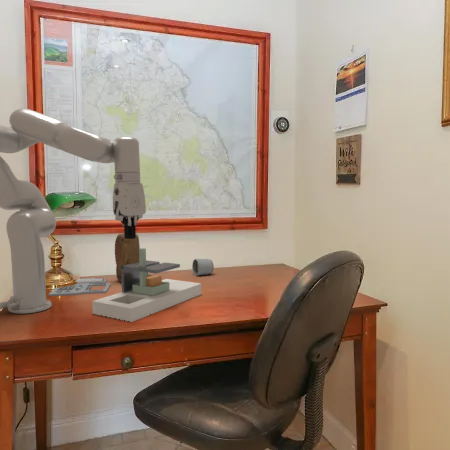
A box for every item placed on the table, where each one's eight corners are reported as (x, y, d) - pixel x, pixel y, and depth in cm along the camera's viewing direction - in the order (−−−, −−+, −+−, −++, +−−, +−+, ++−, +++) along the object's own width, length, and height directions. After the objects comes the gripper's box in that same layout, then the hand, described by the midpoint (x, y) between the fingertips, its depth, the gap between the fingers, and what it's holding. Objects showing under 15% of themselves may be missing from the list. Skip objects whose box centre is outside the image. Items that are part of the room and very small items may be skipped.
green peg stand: (152, 295, 131) (151, 249, 130) (131, 292, 135) (130, 247, 134) (169, 289, 139) (168, 246, 137) (149, 286, 143) (149, 244, 142)
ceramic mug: (214, 275, 182) (214, 258, 181) (198, 277, 178) (198, 260, 178) (204, 271, 191) (204, 255, 190) (189, 273, 187) (189, 257, 187)
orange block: (152, 294, 134) (151, 279, 133) (140, 292, 136) (140, 277, 136) (161, 290, 138) (161, 276, 138) (150, 289, 141) (150, 274, 140)
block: (142, 282, 168) (141, 234, 167) (125, 285, 163) (124, 235, 162) (129, 278, 177) (128, 231, 175) (113, 280, 172) (111, 233, 170)
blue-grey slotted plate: (62, 277, 170) (112, 275, 173) (63, 283, 170) (112, 281, 173) (48, 290, 147) (106, 287, 150) (48, 297, 147) (106, 295, 151)
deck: (131, 322, 118) (131, 308, 118) (92, 313, 126) (92, 301, 126) (201, 294, 149) (201, 283, 149) (166, 289, 157) (166, 278, 157)
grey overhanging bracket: (157, 298, 128) (156, 270, 128) (121, 292, 136) (121, 265, 135) (180, 290, 139) (179, 264, 138) (146, 285, 146) (145, 260, 145)
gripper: (118, 178, 117) (121, 242, 119) (153, 178, 130) (155, 236, 132) (100, 178, 121) (103, 240, 123) (135, 179, 134) (137, 235, 135)
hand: (130, 238), depth 127 cm, fingers closed
